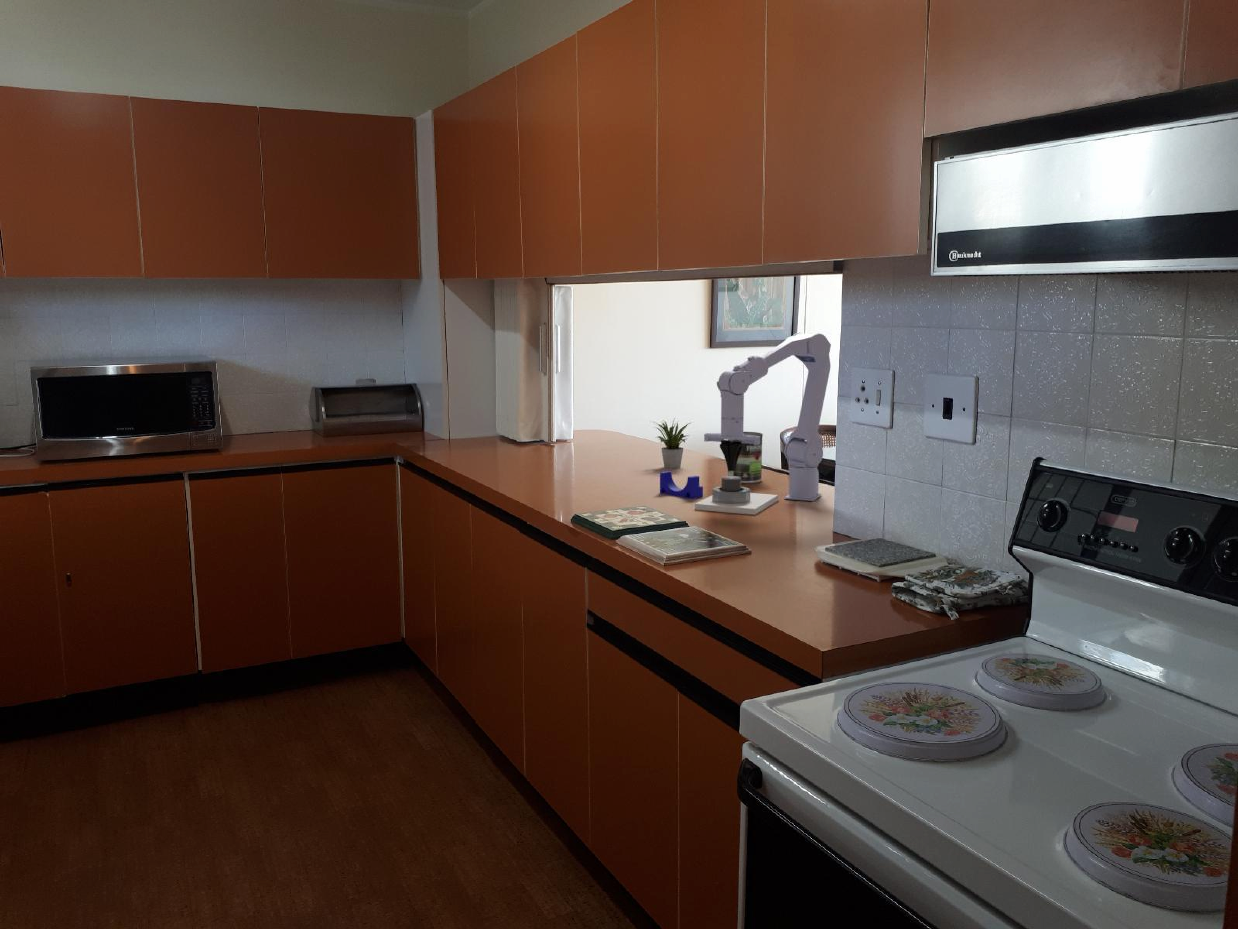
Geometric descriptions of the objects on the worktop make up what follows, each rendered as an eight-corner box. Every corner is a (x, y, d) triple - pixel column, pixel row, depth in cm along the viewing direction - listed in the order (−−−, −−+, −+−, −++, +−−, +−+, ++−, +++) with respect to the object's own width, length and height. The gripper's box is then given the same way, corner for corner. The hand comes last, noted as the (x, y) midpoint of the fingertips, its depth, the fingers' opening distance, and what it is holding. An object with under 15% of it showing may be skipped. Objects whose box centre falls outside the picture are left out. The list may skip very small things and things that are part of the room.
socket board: (721, 496, 271) (721, 479, 271) (778, 500, 264) (778, 484, 264) (694, 509, 253) (694, 492, 253) (754, 514, 247) (755, 497, 246)
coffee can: (769, 480, 295) (770, 433, 292) (745, 484, 288) (745, 436, 286) (743, 476, 302) (744, 430, 300) (719, 480, 296) (720, 433, 294)
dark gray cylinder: (725, 498, 261) (725, 475, 260) (743, 499, 258) (743, 476, 258) (718, 501, 256) (718, 478, 255) (737, 502, 254) (737, 479, 253)
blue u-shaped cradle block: (702, 497, 271) (703, 475, 270) (691, 499, 268) (691, 477, 267) (671, 491, 279) (671, 470, 278) (659, 493, 276) (659, 472, 275)
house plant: (640, 469, 315) (640, 418, 313) (652, 463, 328) (652, 414, 326) (684, 471, 311) (684, 420, 308) (694, 465, 324) (695, 415, 321)
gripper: (700, 418, 253) (699, 470, 256) (754, 420, 247) (753, 474, 249) (709, 415, 260) (709, 466, 262) (763, 418, 254) (762, 470, 256)
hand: (731, 470), depth 256 cm, fingers closed
